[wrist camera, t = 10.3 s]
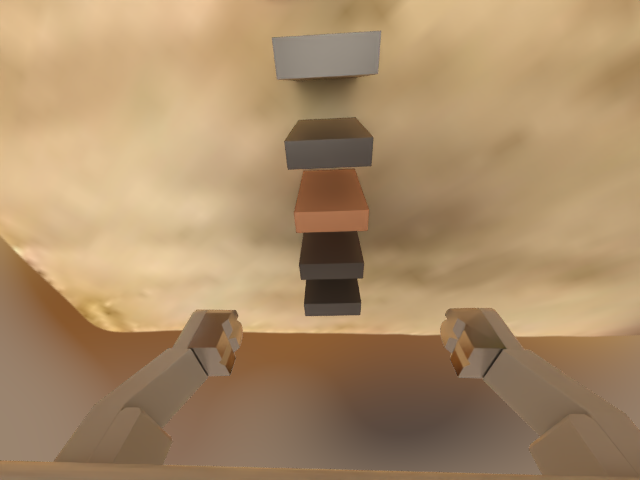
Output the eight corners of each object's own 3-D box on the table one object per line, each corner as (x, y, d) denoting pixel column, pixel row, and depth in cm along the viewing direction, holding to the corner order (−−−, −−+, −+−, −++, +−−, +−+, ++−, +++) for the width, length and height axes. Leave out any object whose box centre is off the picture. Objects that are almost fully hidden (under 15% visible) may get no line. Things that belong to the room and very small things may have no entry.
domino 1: (293, 55, 18) (271, 37, 11) (357, 52, 18) (381, 30, 11) (295, 80, 19) (277, 79, 12) (356, 77, 19) (377, 73, 12)
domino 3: (303, 170, 23) (294, 212, 16) (354, 168, 23) (369, 209, 16) (304, 186, 24) (296, 232, 17) (353, 184, 24) (367, 230, 17)
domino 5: (309, 245, 28) (303, 304, 21) (351, 244, 28) (361, 303, 21) (310, 256, 29) (305, 316, 22) (350, 255, 29) (360, 315, 22)
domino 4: (306, 211, 26) (299, 264, 18) (352, 210, 26) (364, 262, 18) (307, 224, 27) (300, 279, 19) (352, 223, 27) (362, 278, 19)
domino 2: (298, 120, 21) (284, 141, 13) (355, 117, 21) (373, 137, 13) (300, 139, 22) (287, 169, 14) (354, 137, 22) (371, 166, 14)
